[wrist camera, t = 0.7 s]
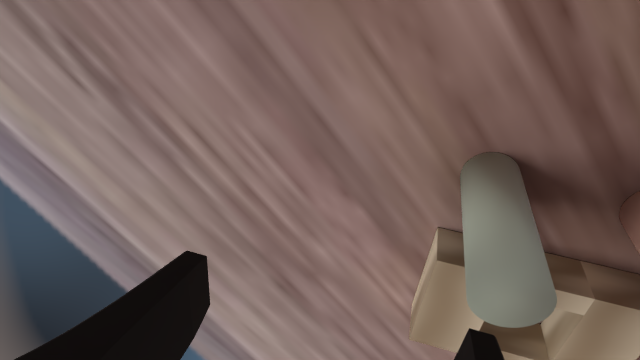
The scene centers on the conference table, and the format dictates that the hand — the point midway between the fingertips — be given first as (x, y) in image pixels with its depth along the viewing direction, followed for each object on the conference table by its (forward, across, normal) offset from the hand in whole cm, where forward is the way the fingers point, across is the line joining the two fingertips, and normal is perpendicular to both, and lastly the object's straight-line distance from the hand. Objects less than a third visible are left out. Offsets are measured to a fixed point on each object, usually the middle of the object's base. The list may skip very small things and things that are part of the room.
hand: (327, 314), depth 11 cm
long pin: (+10, -5, 0) cm, 12 cm away
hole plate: (+10, -9, +7) cm, 15 cm away
